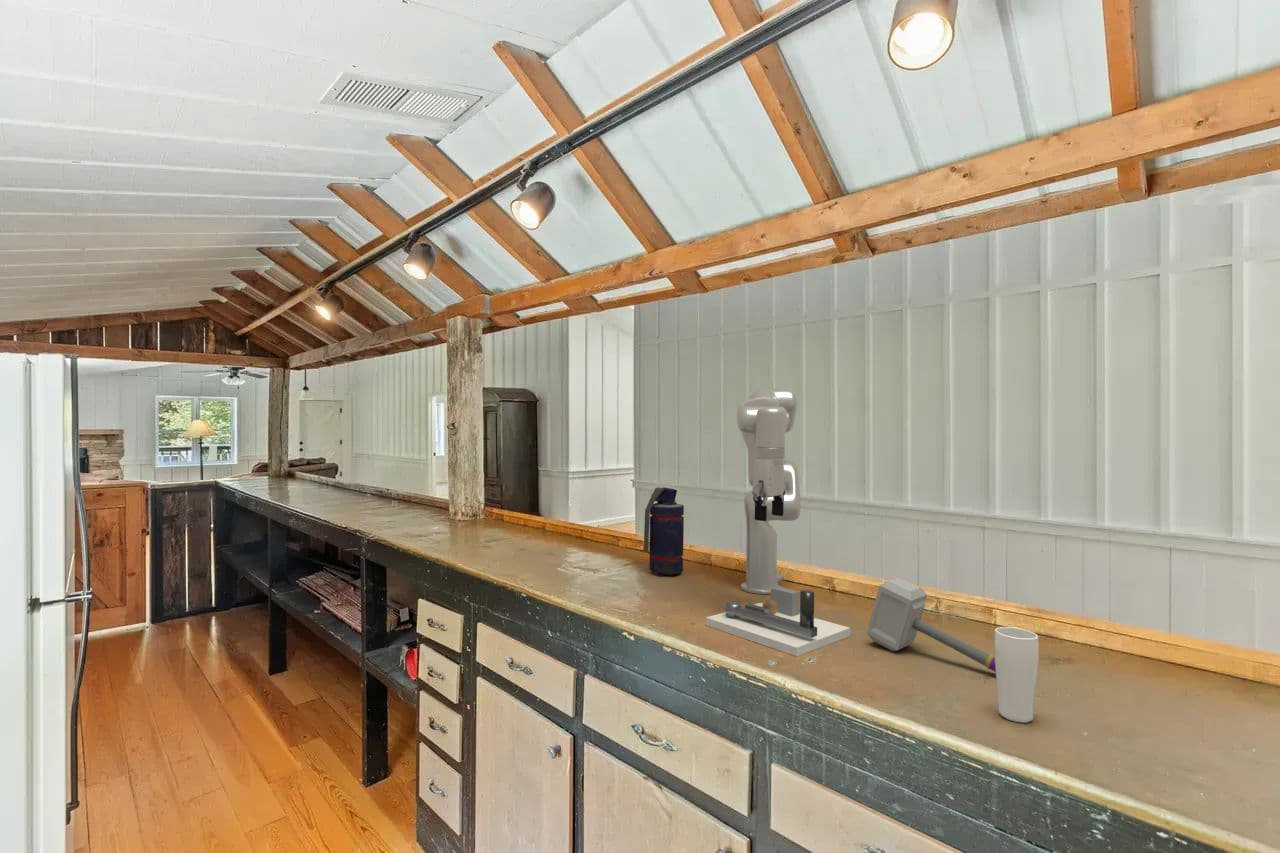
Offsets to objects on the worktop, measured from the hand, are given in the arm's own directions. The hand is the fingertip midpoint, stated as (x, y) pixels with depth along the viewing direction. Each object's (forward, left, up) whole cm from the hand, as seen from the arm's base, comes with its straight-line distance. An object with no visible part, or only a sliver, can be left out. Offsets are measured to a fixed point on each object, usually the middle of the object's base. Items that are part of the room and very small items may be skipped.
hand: (769, 517), depth 164 cm
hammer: (-7, +42, -28) cm, 51 cm away
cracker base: (+5, +7, -27) cm, 29 cm away
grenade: (-14, -56, -27) cm, 64 cm away
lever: (+10, +8, -25) cm, 28 cm away
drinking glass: (+10, +63, -27) cm, 69 cm away
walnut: (+3, +3, -25) cm, 25 cm away
